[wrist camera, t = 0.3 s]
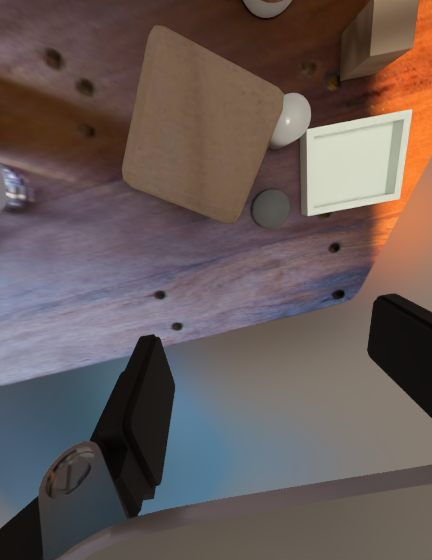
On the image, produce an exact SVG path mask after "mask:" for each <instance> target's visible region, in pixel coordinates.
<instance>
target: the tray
mask: <svg viewBox="0 0 432 560" xmlns="http://www.w3.org/2000/svg"><path fill="white" fill-rule="evenodd" d="M411 116H412V109H410V110H405V111H399V112H394V113H389V114H384V115H379V116H374V117H369V118H363V119H358V120H353V121H348V122H343V123H338V124H333V125H327V126H322V127H317V128H312V129H307V130H306V131H305V133H304V134H303V135H302V136H301V137H300V138H299V139H300V184H301V215H305V216H311V215H316V214H322V213H327V212H332V211H338V210H343V209H348V208H354V207H359V206H364V205H370V204H375V203H380V202H386V201H391V200H397V199H400V193H401V186H402V179H403V172H404V165H405V158H406V151H407V144H408V137H409V130H410V123H411Z"/></svg>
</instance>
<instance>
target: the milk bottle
mask: <svg viewBox="0 0 432 560" xmlns="http://www.w3.org/2000/svg"><path fill="white" fill-rule="evenodd" d="M243 1H244V3H245V5H246V6H247V8H248V9H249V10H250V11H251V12H252V13H253V14H255V15H256V16H259V17H262V18H270V17H274V16H276V15H278V14H280V13H281V12H283V11H284V10H285V9H286V8H287V7H288V5H289V4H290V3H291V1H292V0H243Z"/></svg>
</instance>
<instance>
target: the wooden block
mask: <svg viewBox="0 0 432 560" xmlns="http://www.w3.org/2000/svg"><path fill="white" fill-rule="evenodd" d="M283 101H284V94H283V92H282V91H281V90H280V89H279V88H278V87H276V86H275V85H273V84H271V83H269V82H267V81H265V80H263V79H262V78H260V77H258V76H256V75H254V74H252V73H250V72H248V71H247V70H245V69H243V68H241V67H239V66H237V65H235V64H234V63H232V62H230V61H228V60H226V59H224V58H222V57H220V56H219V55H217V54H215V53H213V52H211V51H209V50H207V49H206V48H204V47H202V46H200V45H198V44H196V43H194V42H192V41H191V40H189V39H187V38H185V37H183V36H181V35H179V34H178V33H176V32H174V31H172V30H170V29H168V28H166V27H164V26H156V25H154V27H153V29H152V31H151V32H150V34H149V37H148V40H147V45H146V50H145V55H144V60H143V65H142V70H141V75H140V80H139V85H138V90H137V95H136V100H135V105H134V110H133V115H132V120H131V125H130V130H129V135H128V140H127V145H126V150H125V155H124V160H123V165H122V173H123V179H124V180H125V181H126V182H127V183H128V184H129V185H130V186H131V187H133V188H136V189H138V190H141V191H143V192H146V193H149V194H151V195H154V196H156V197H159V198H161V199H164V200H167V201H169V202H172V203H174V204H177V205H179V206H182V207H185V208H187V209H190V210H192V211H195V212H198V213H200V214H203V215H205V216H208V217H210V218H213V219H216V220H218V221H221V222H223V223H234V222H235V221H236V220H237V219H238V218H239V216H240V215H241V212H242V210H243V207H244V205H245V202H246V200H247V197H248V195H249V192H250V190H251V187H252V185H253V182H254V180H255V177H256V175H257V172H258V170H259V168H260V165H261V163H262V160H263V158H264V155H265V153H266V150H267V148H268V145H269V143H270V140H271V138H272V135H273V133H274V130H275V128H276V125H277V123H278V120H279V118H280V116H281V113H282V111H283Z"/></svg>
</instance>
